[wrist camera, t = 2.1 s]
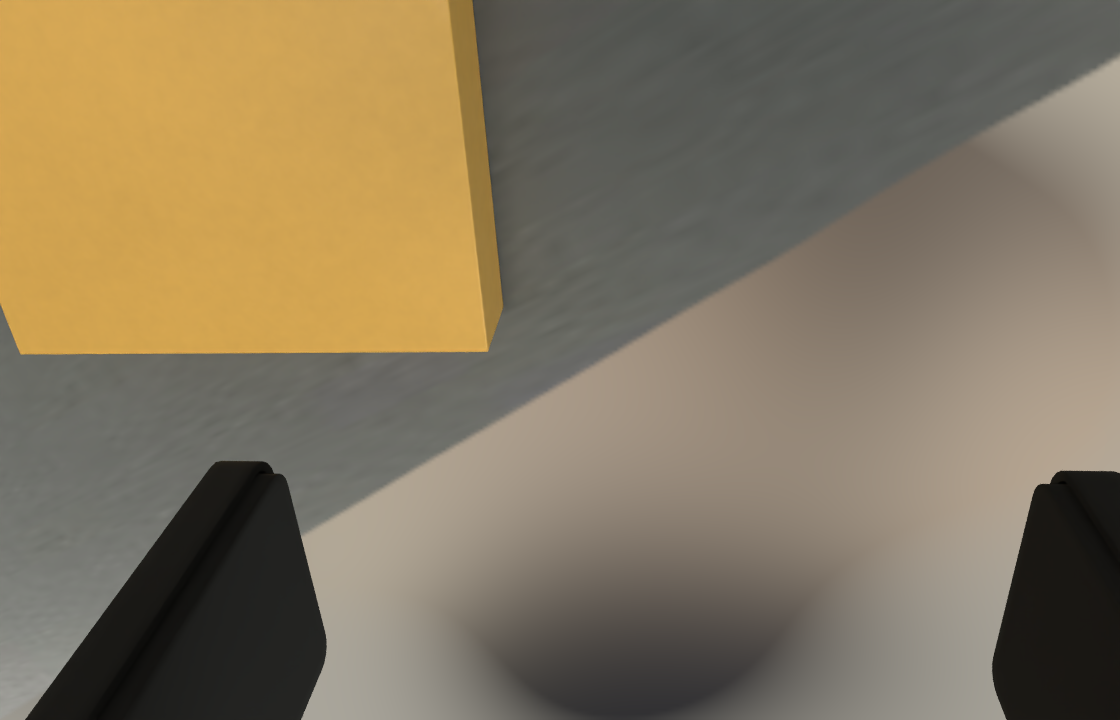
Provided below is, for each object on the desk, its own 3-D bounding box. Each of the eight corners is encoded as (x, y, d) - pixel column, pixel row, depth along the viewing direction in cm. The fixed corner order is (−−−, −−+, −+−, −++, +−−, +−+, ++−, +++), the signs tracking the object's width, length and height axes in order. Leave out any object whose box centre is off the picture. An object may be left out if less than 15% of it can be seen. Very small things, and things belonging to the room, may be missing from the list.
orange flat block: (465, -65, 24) (442, -54, 21) (503, 307, 29) (488, 352, 27) (-51, -34, 26) (-131, -21, 23) (73, 312, 31) (19, 354, 29)
